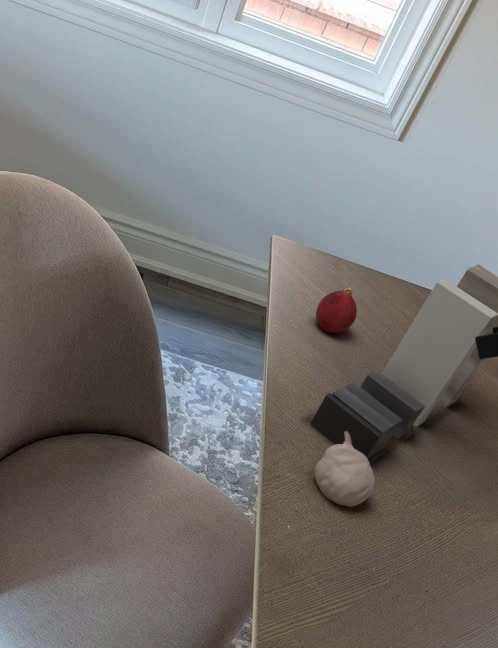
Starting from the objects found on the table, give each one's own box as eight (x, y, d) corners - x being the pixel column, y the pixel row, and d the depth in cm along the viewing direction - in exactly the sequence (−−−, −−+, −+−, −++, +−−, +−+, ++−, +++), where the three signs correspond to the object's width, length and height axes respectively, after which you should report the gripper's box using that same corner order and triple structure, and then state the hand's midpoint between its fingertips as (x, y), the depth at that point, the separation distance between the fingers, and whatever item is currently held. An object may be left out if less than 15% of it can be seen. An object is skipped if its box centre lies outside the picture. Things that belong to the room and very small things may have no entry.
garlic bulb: (354, 481, 93) (384, 434, 87) (363, 520, 88) (396, 473, 83) (304, 471, 92) (331, 423, 86) (311, 510, 87) (340, 462, 82)
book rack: (404, 372, 113) (474, 261, 100) (455, 409, 110) (534, 299, 96) (304, 427, 98) (371, 304, 85) (359, 472, 94) (438, 351, 81)
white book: (377, 388, 107) (444, 278, 94) (423, 422, 103) (498, 313, 91) (370, 392, 105) (437, 281, 93) (416, 427, 102) (491, 317, 90)
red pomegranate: (314, 342, 113) (337, 296, 107) (303, 319, 117) (324, 274, 111) (348, 346, 115) (373, 301, 109) (336, 323, 118) (359, 279, 113)
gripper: (738, 250, 79) (510, 297, 97) (691, 284, 68) (447, 329, 87) (747, 320, 80) (521, 354, 98) (703, 363, 70) (461, 392, 88)
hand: (487, 342), depth 92 cm, fingers open, 4 cm apart
